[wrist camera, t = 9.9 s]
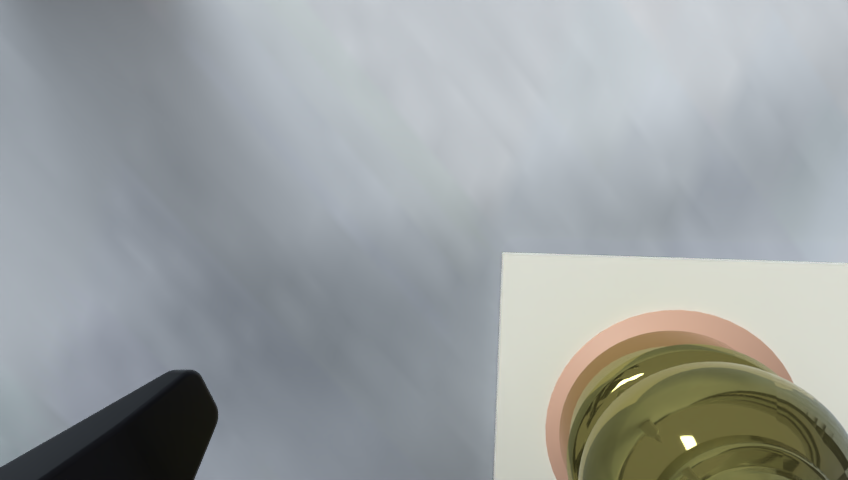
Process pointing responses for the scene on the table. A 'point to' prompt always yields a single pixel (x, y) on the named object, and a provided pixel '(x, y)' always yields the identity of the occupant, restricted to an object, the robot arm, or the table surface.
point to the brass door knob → (694, 417)
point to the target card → (650, 312)
